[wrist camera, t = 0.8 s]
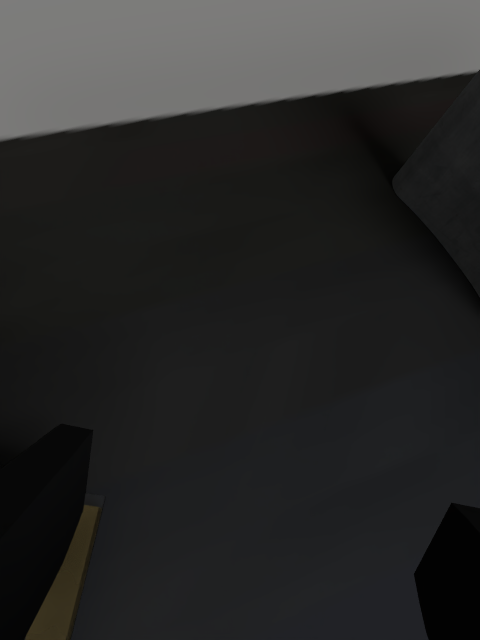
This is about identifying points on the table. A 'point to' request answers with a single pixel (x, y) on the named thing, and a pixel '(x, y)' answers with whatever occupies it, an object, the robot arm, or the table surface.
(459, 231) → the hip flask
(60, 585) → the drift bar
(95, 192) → the table surface
